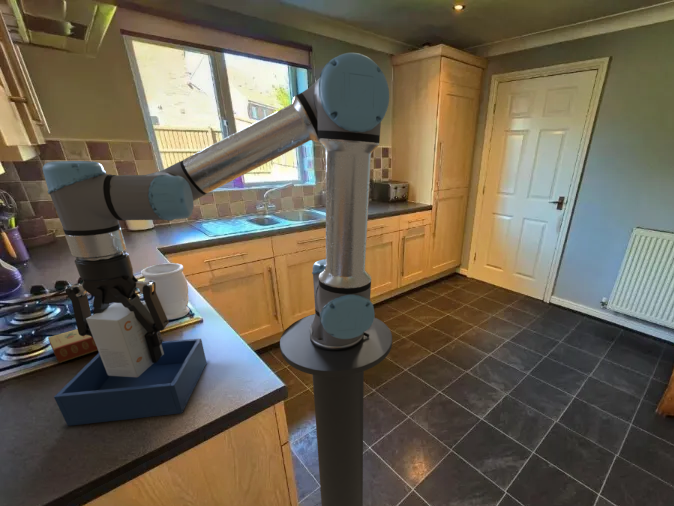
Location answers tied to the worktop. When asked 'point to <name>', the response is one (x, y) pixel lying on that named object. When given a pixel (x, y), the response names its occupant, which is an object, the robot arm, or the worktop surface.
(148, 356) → the small box
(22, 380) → the worktop surface
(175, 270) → the jar
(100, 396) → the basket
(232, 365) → the worktop surface
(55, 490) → the worktop surface
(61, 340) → the carton
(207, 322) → the worktop surface
